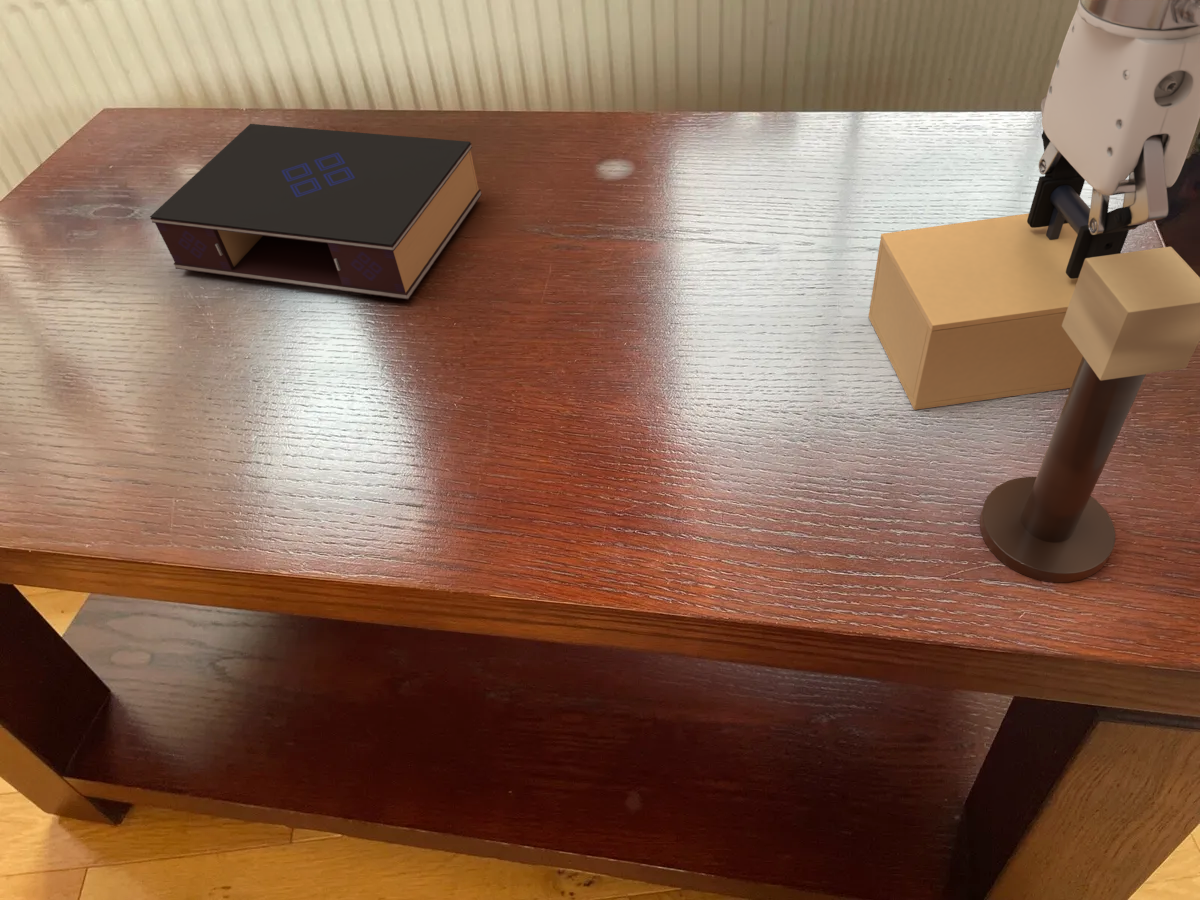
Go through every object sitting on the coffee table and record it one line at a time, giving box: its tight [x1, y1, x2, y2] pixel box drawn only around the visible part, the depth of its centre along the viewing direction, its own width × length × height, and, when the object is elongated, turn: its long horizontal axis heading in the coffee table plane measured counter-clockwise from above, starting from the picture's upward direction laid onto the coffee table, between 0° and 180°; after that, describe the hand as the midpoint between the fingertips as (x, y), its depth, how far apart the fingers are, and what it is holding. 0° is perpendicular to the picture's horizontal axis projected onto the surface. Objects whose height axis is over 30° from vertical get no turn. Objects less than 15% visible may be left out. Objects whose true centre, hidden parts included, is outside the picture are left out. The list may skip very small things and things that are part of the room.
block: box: [1062, 246, 1200, 380], centre depth 48 cm, size 4×4×4 cm
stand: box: [979, 357, 1147, 583], centre depth 56 cm, size 8×8×16 cm
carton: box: [868, 239, 1083, 411], centre depth 71 cm, size 13×11×8 cm
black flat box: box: [149, 123, 482, 300], centre depth 90 cm, size 17×25×7 cm
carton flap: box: [880, 185, 1090, 331], centre depth 67 cm, size 14×11×5 cm
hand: (1068, 245), depth 67 cm, fingers closed on carton flap, 5 cm apart
